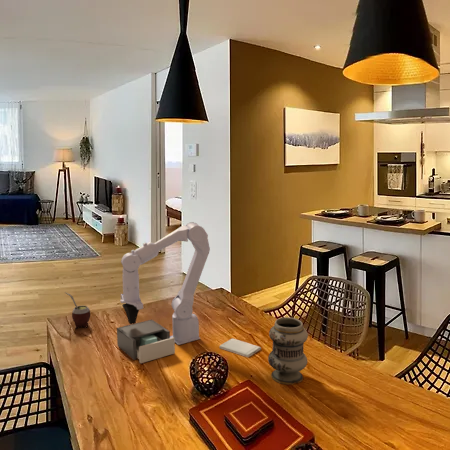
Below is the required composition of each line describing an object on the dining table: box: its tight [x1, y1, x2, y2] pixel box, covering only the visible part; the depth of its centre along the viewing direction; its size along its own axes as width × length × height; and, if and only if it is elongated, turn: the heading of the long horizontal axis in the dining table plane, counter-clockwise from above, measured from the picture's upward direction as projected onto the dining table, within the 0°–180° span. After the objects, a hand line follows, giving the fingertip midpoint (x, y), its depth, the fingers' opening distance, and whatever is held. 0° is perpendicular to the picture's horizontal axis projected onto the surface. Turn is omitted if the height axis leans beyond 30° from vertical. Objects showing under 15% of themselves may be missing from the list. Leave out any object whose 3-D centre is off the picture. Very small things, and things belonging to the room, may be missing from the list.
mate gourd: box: [64, 291, 91, 330], centre depth 178 cm, size 8×8×15 cm
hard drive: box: [219, 338, 262, 358], centre depth 159 cm, size 2×8×12 cm
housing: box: [116, 319, 171, 361], centre depth 159 cm, size 14×14×7 cm
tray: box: [134, 334, 176, 364], centre depth 157 cm, size 13×17×6 cm
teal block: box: [140, 334, 157, 346], centre depth 156 cm, size 4×4×4 cm
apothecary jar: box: [267, 316, 309, 385], centre depth 137 cm, size 12×12×18 cm
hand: (132, 323), depth 160 cm, fingers closed
